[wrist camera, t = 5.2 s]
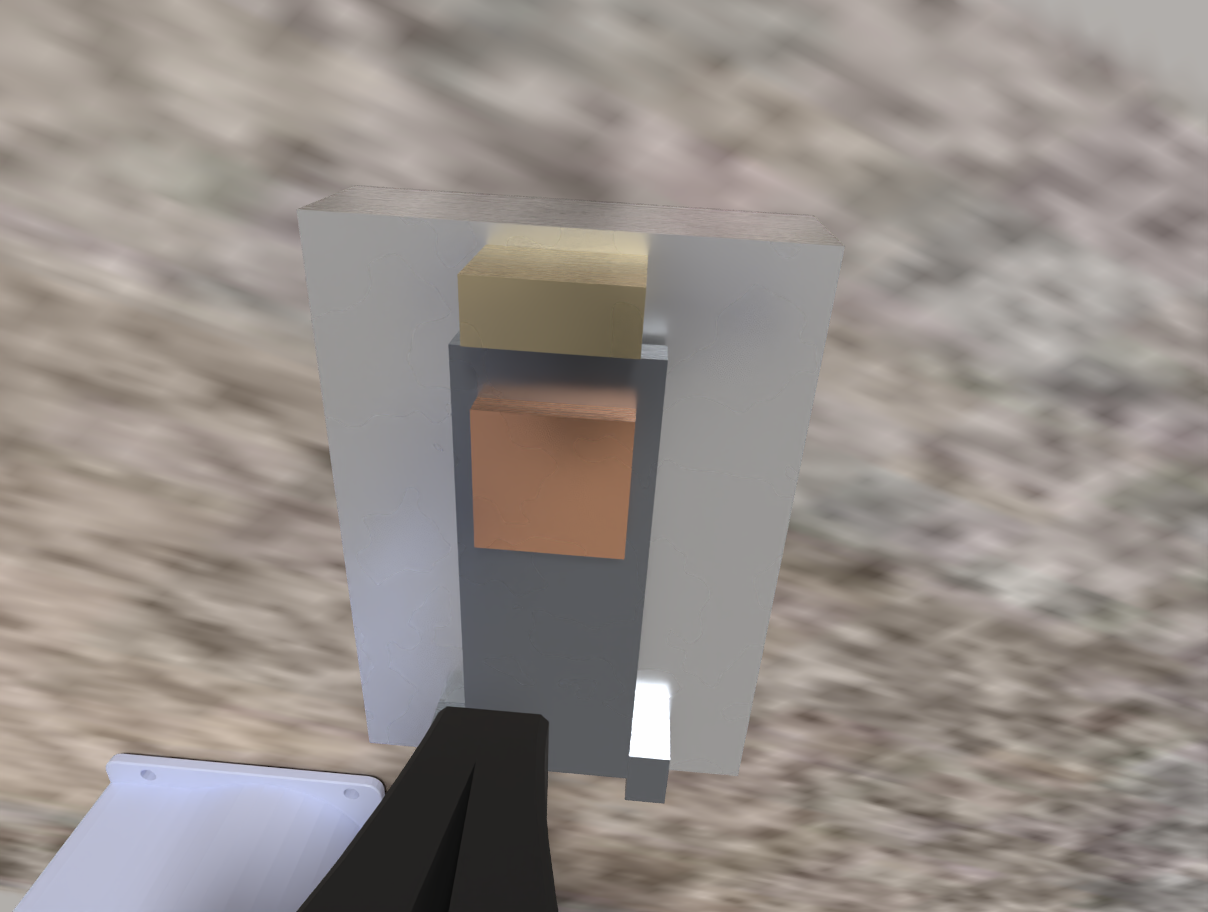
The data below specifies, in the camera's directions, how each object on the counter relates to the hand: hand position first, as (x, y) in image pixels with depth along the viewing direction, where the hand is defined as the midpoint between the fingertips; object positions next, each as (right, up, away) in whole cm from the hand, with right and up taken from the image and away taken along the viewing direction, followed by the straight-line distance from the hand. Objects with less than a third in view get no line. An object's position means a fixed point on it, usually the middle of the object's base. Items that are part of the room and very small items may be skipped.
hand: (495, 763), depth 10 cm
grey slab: (0, +1, +7) cm, 7 cm away
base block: (+1, +3, +10) cm, 10 cm away
